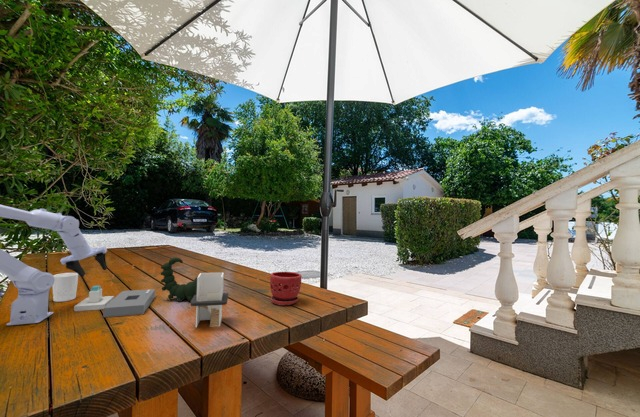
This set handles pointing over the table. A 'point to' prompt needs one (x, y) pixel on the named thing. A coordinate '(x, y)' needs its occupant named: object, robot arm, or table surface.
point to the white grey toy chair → (209, 298)
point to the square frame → (93, 304)
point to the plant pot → (285, 287)
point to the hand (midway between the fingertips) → (94, 271)
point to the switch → (129, 303)
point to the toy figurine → (172, 286)
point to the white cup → (65, 287)
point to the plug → (95, 294)
